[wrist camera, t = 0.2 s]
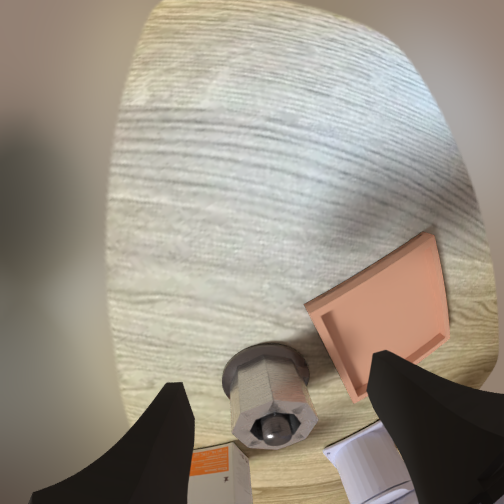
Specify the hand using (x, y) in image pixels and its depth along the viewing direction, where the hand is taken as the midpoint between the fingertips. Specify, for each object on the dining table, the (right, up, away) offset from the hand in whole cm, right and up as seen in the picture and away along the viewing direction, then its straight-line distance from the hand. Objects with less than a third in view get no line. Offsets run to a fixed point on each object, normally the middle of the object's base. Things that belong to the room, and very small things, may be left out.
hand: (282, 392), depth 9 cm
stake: (0, -5, +11) cm, 13 cm away
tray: (+10, -1, +11) cm, 15 cm away
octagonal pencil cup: (0, -5, +11) cm, 12 cm away
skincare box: (-5, -16, +14) cm, 22 cm away
